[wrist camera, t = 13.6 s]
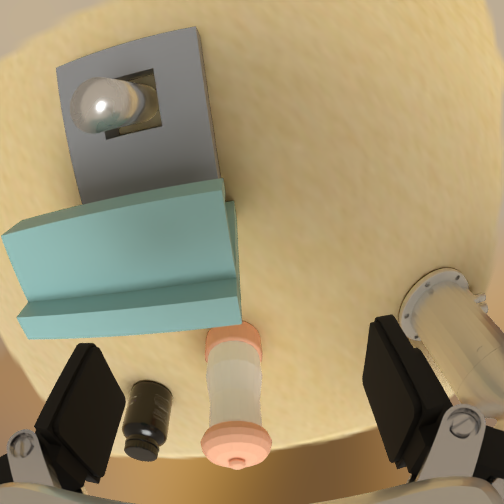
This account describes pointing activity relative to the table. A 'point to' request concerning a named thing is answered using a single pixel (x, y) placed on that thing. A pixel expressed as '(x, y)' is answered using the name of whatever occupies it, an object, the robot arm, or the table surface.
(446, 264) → the table surface
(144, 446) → the supplement bottle
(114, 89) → the peg
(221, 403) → the salt shaker
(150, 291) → the socket stand
